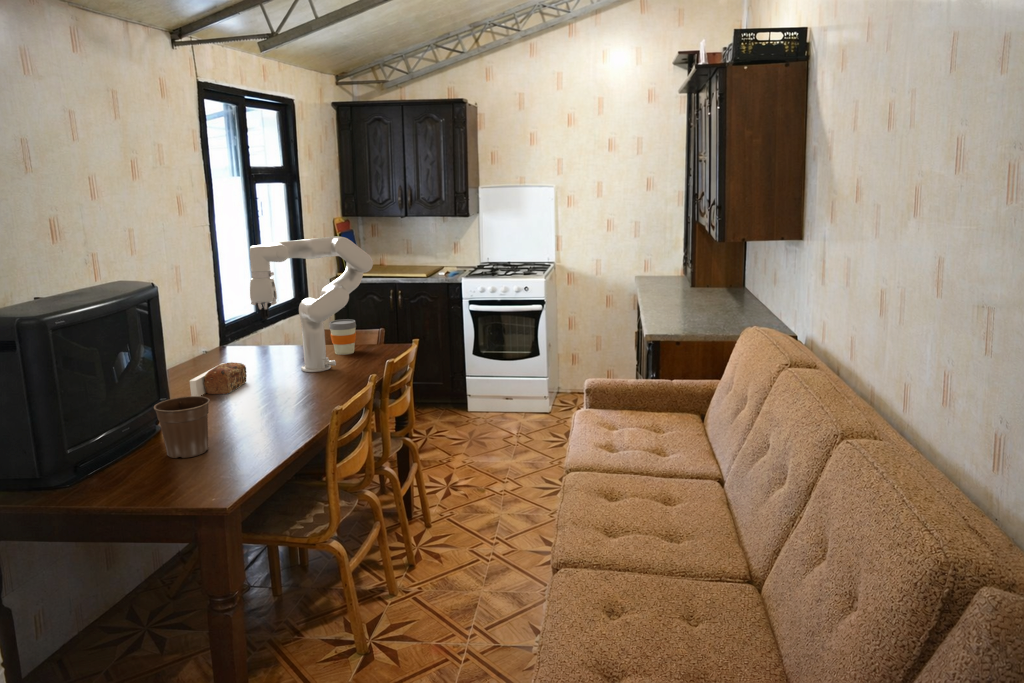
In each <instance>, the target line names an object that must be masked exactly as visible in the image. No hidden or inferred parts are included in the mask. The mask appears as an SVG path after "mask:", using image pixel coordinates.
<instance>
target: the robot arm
mask: <svg viewBox="0 0 1024 683" xmlns="http://www.w3.org/2000/svg"><path fill="white" fill-rule="evenodd" d="M249 247H250V248H249V257H250V258H249V259H250V269H251V270H250V271H251V278H250V283H249V297H250V298H249V299H250V301H251V303H250V305H253V306H256V307H257V308H258V309H259V310H260V311H259V312H260V317H261V319H262V320H266V319H269V318H270V308H271V307H272V306H274V305H277V304H278V303H277V302H278V301H277V299H278V295H277V288H276V283H275V280H274V278H273V277H272V276H274V275H275V273H274V272H273V271H272V270H271V264H270V263H282V262H285V261H286V260H288V259H304V260H305V259H307V260H313V259H320V258H321V259H322V258H330V257H340V258H341V259H342V260H344V261H345V262H346V263H345V264H346V266H345V270H344V272H343V273H341V275H340V276H339V277H337V278H336V279H334V280H332V281H331V282H330V283H329V284H327V285H325V286H324V287H322V289H321V291H320V294H319V295H320V297H319V298H315V297H305V298H304V299H302V300H301V302H300V303H299V306H298V313H299V314H298V315H299V320H300V326H301V334H302V347H303V348H302V349H303V358H304V365H302V366H301V367H300V368H301V371H302V372H306V373H317V372H324V371H328V370H330V369H331V367H332V366H336V365H337V361H336V360H335V359H332V360H330V359H329V356H328V357H327V349H326V334H325V332H326V331H325V324H324V322H325V321H326V320H328V319H330V318H331V317H332V316H334V315H335V314H336V313H338V312H339V311H340V310H342V309H343V308H345V306H346V305H347V304H348V302H349V300H350V294H351V293H352V292H353V291H355V290H356V289H357V288H358V287H359V285H360V284H361V282H362V279H363V276H364V273H368V272H370V271H371V270H372V269H373V265H374V261H373V259H372V256H371V255H370V254H369V253H367V252H366V251H365V250H363V249H362V248H360V246H358V245H357V244H355V243H354V242H353V241H352V240H350V239H349V238H347V237H344V236H335V235H334V236H328V237H327V236H326V237H325V236H324V237H317V238H307V239H297V240H286V241H276V242H271V243H269V244H267V245H264V244H257V245H251V246H249Z"/></svg>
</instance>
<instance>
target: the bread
mask: <svg viewBox="0 0 1024 683" xmlns="http://www.w3.org/2000/svg"><path fill="white" fill-rule="evenodd" d="M216 366H217V367H216ZM216 366H215V368H214V367H212V368H213V369H212V368H211V369H212V370H210V369H209V370H210V371H209V370H207V371H208V373H207V374H206V375H205V377H204V386H205V389H206V393H205V394H208V395H209V394H210V395H227V393H228V394H231V392H234V391H236V390H237V389H238V387H239V386H241V387H242V386H243V385H245V384H246V383H247V375H248V374H247V367H246V364H244V363H242V362H232V361H231V362H225V364H222V363H220V364H218V365H216ZM245 382H246V383H245ZM236 388H237V389H236ZM239 388H240V387H239ZM235 389H236V390H235ZM233 390H234V391H233Z"/></svg>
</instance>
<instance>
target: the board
mask: <svg viewBox="0 0 1024 683" xmlns="http://www.w3.org/2000/svg"><path fill="white" fill-rule="evenodd" d="M225 363H226V362H225ZM225 363H223V362H221V364H225ZM217 366H218V365H216V366H215V367H217ZM215 367H212V368H211V369H209V370H206V371H205V372H203V373H201V374H199V375H198V376H195V377H194V378H191V379H190V380H189V388H190V396H201V395H202V396H204V395H205V394H207V393H206V389H205V386H204V377H205V375H206V374H207V373H208V371H210V370H212V369H213V368H215ZM204 393H205V394H204ZM203 394H204V395H203ZM202 396H201V397H202Z"/></svg>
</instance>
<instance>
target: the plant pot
mask: <svg viewBox="0 0 1024 683" xmlns="http://www.w3.org/2000/svg"><path fill="white" fill-rule="evenodd" d="M210 400H211V399H210V398H208V397H207V396H191V395H190V396H181V397H174V398H171V399H166V400H163V401H160V402H158V403H156V404H154V406H153V410H154V411H155V413H156V417H157V420H158V422H159V424H160V425H159V426H160V429H161V432H162V437H163V442H164V445H165V450H166V455H167V457H169V458H172V459H178V458H182V459H188V458H193V457H194V458H195V457H197V456H200V455H203V454H205V453H206V451H208V450H209V425H208V423H209V422H208V417H209V416H208V414H209V403H210V402H211V401H210Z"/></svg>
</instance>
